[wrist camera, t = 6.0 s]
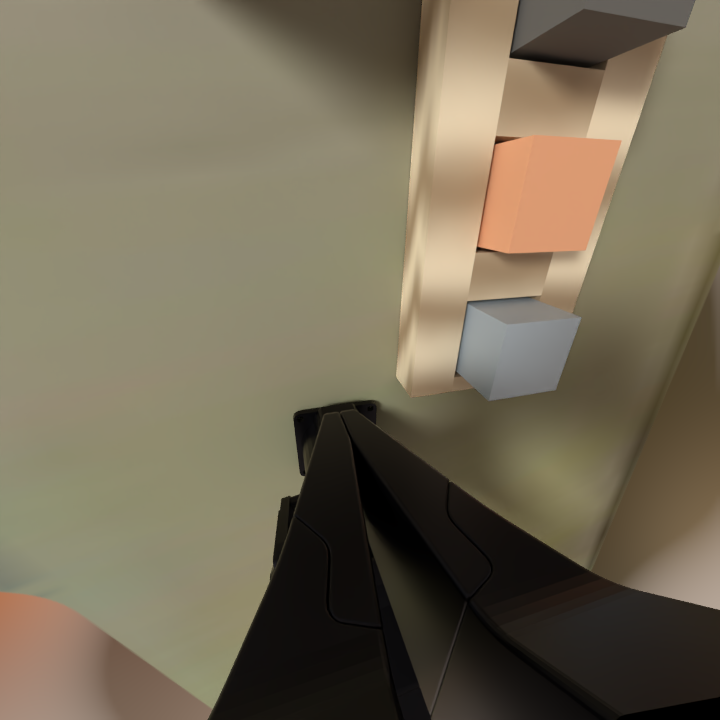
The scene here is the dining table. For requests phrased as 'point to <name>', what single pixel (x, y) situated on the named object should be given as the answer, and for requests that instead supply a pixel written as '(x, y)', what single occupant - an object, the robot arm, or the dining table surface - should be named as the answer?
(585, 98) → the birch panel
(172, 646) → the dining table surface
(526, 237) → the orange cube
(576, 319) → the blue-grey cube
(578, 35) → the dark grey cube
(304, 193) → the dining table surface
